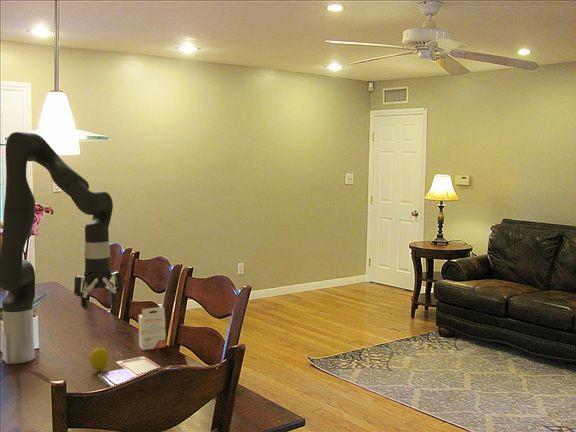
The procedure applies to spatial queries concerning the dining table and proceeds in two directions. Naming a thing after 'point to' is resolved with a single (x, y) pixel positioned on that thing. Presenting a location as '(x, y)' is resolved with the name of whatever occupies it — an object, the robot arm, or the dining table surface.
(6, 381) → the dining table surface
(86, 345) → the dining table surface
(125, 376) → the ink pad
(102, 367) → the lemon
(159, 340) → the ink cartridge box
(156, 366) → the marked sheet
